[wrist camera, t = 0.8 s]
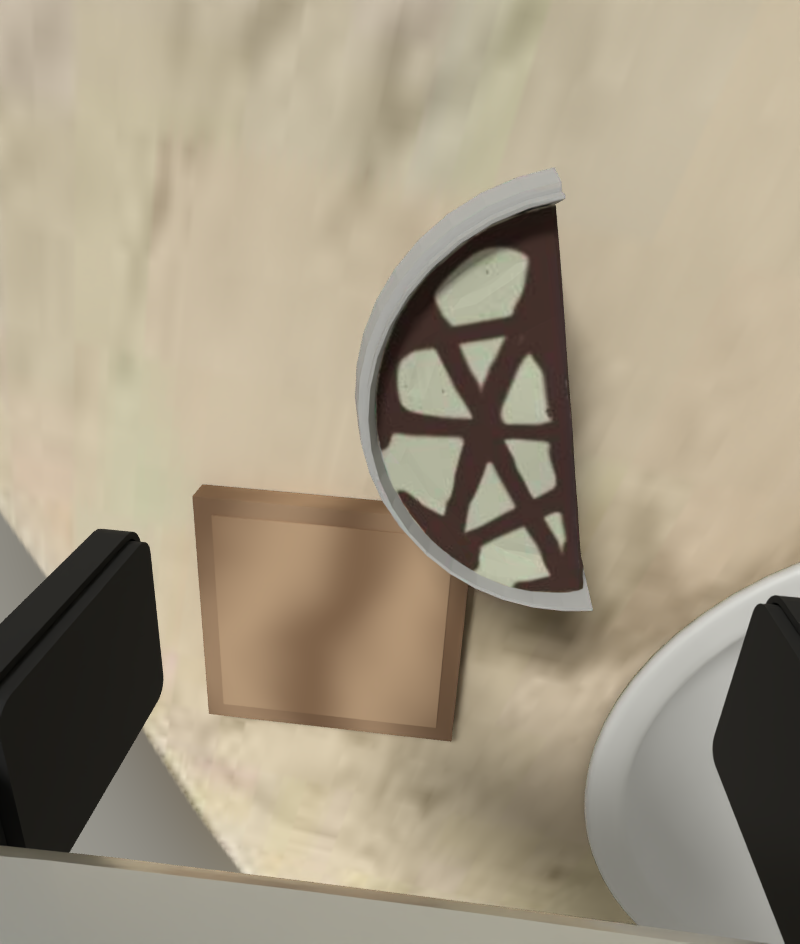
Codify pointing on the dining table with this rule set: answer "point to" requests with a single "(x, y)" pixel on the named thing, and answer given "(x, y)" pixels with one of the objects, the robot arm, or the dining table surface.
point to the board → (324, 614)
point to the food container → (479, 398)
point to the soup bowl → (679, 784)
